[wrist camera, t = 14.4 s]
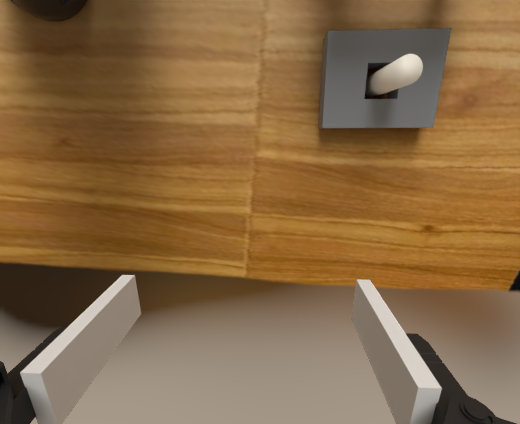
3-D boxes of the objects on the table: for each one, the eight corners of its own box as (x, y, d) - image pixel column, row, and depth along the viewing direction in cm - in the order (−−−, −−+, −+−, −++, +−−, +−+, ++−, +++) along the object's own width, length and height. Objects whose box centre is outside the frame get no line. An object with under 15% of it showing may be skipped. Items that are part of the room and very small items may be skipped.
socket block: (318, 128, 47) (322, 127, 43) (323, 39, 43) (328, 30, 39) (419, 127, 46) (433, 127, 42) (435, 37, 42) (451, 28, 38)
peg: (361, 97, 45) (391, 85, 34) (363, 74, 44) (396, 53, 33) (382, 97, 45) (420, 85, 34) (385, 74, 44) (425, 53, 33)
